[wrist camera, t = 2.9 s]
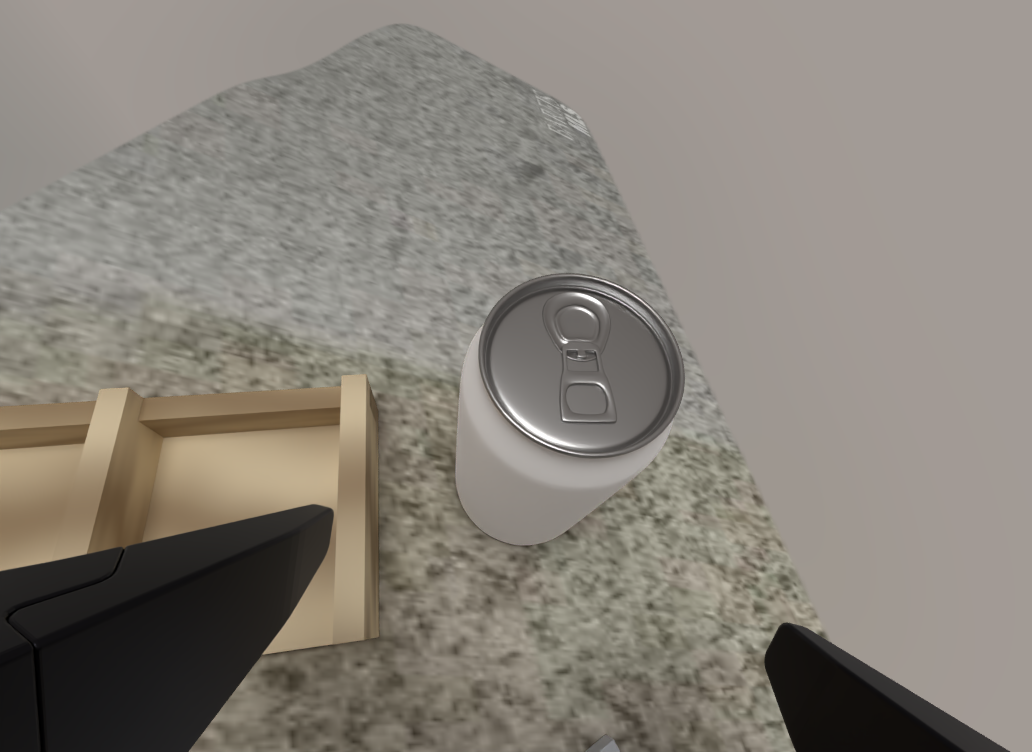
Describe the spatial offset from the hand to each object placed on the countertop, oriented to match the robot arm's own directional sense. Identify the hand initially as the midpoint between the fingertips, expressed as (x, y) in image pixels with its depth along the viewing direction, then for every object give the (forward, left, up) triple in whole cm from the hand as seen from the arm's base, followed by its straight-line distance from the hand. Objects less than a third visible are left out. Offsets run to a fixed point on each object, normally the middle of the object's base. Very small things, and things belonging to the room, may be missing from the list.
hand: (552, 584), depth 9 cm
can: (+5, -3, -13) cm, 14 cm away
